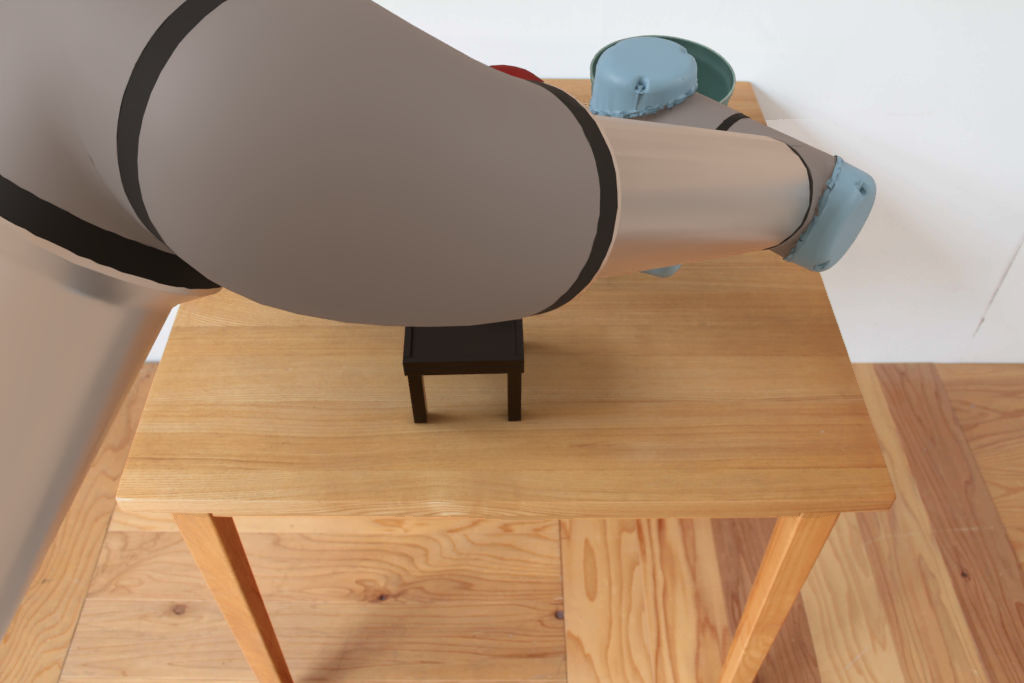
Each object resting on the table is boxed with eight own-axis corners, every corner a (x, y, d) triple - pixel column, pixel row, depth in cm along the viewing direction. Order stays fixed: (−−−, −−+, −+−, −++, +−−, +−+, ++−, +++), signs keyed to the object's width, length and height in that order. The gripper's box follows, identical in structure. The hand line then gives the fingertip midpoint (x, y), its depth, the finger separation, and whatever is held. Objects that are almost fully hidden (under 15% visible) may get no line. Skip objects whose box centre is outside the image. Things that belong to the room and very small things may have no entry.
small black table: (411, 425, 76) (402, 362, 70) (416, 341, 83) (408, 276, 76) (523, 422, 76) (524, 359, 70) (519, 339, 83) (520, 274, 76)
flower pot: (714, 117, 108) (731, 38, 100) (721, 199, 97) (741, 117, 89) (586, 109, 109) (593, 30, 101) (580, 189, 98) (586, 108, 90)
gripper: (472, 285, 73) (261, 204, 81) (571, 161, 85) (379, 99, 92) (468, 218, 68) (242, 137, 75) (575, 95, 79) (370, 35, 86)
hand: (318, 116), depth 84 cm, fingers closed on blue cup, 7 cm apart
